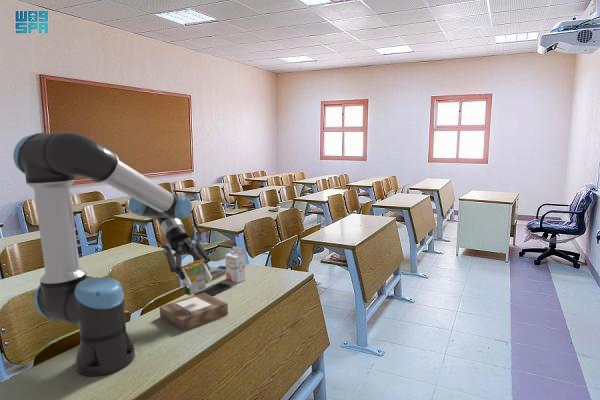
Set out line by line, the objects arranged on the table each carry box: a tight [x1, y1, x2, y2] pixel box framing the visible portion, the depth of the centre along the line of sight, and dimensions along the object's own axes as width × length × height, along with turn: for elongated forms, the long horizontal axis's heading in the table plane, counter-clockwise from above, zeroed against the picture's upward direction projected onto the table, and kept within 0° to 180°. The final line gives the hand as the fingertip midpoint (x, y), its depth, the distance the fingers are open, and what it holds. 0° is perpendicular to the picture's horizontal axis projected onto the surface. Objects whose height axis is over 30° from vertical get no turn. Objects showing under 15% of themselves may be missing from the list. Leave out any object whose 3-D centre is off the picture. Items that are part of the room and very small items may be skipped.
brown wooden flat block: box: [159, 293, 229, 332], centre depth 141 cm, size 18×16×4 cm
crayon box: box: [183, 259, 207, 297], centre depth 141 cm, size 7×3×12 cm, turn 144°
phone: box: [193, 282, 232, 297], centre depth 165 cm, size 8×1×15 cm
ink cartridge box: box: [224, 245, 247, 284], centre depth 178 cm, size 9×5×15 cm, turn 47°
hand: (200, 282), depth 138 cm, fingers closed on crayon box, 7 cm apart
